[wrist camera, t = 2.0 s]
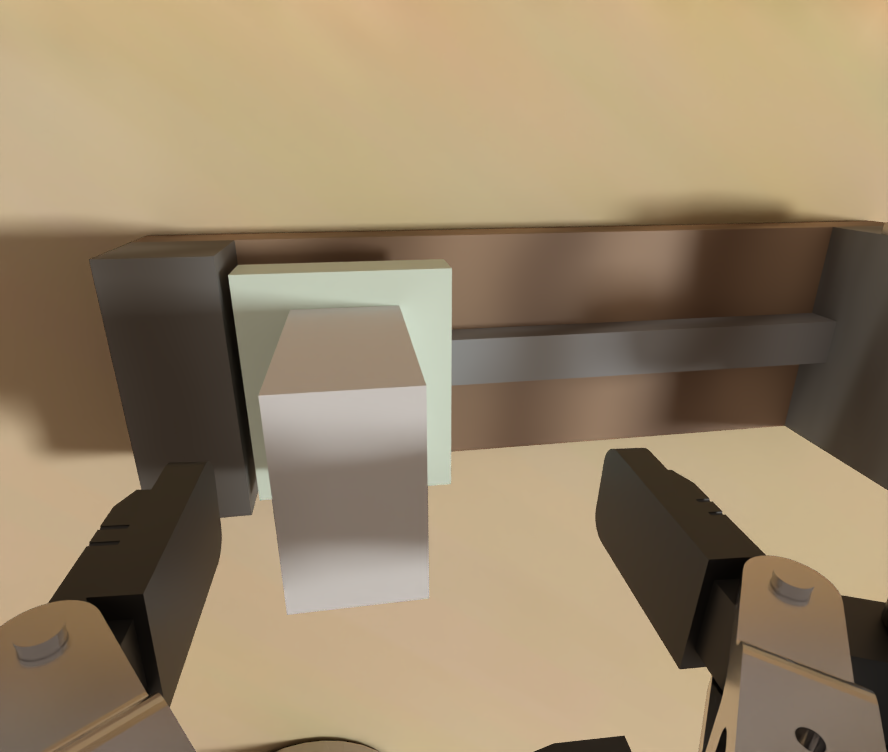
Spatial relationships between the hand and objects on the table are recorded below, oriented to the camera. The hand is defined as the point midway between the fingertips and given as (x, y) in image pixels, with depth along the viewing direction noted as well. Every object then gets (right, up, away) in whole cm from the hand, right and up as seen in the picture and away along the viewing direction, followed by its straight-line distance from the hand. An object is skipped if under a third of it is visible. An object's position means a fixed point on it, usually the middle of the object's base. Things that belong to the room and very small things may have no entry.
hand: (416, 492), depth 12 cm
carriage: (-2, +3, +6) cm, 7 cm away
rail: (+4, +4, +10) cm, 12 cm away
